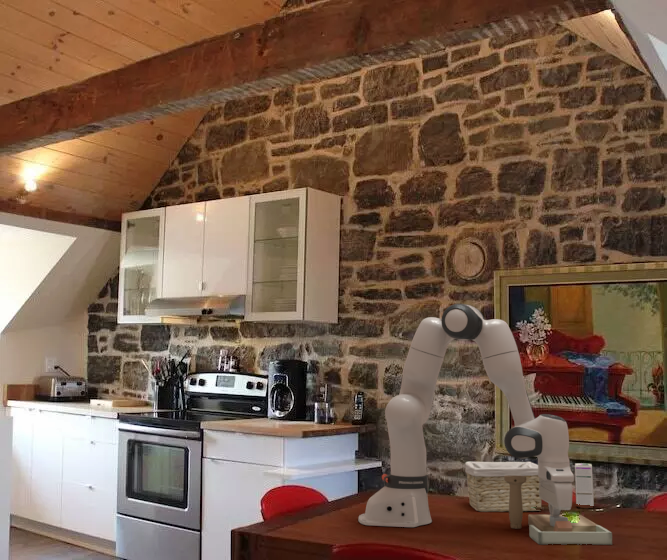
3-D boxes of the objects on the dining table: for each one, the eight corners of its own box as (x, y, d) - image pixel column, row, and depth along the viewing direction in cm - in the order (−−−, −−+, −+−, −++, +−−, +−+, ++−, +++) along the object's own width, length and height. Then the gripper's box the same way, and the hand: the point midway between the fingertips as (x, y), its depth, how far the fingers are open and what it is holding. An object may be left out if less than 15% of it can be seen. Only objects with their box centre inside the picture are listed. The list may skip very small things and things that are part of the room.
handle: (527, 530, 233) (526, 478, 235) (504, 529, 234) (504, 477, 236) (527, 527, 238) (526, 475, 239) (505, 525, 239) (504, 475, 241)
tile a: (553, 531, 223) (555, 538, 221) (555, 521, 221) (558, 528, 219) (567, 531, 223) (569, 538, 221) (569, 521, 221) (572, 528, 219)
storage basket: (473, 512, 260) (473, 467, 262) (464, 503, 276) (463, 460, 278) (546, 513, 261) (545, 467, 262) (532, 504, 277) (531, 461, 278)
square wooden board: (543, 536, 225) (543, 525, 226) (528, 524, 241) (528, 514, 242) (599, 536, 226) (599, 525, 226) (580, 524, 242) (580, 514, 242)
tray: (539, 544, 215) (538, 532, 216) (529, 536, 225) (529, 524, 225) (612, 544, 216) (611, 532, 216) (599, 536, 225) (599, 525, 226)
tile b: (554, 526, 222) (553, 517, 223) (549, 525, 226) (549, 516, 227) (568, 526, 222) (567, 517, 223) (563, 525, 226) (563, 516, 227)
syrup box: (594, 509, 267) (593, 465, 268) (575, 508, 269) (574, 464, 270) (593, 506, 272) (592, 463, 274) (575, 505, 274) (574, 462, 276)
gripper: (533, 466, 240) (534, 513, 238) (553, 476, 219) (554, 527, 218) (553, 466, 240) (554, 513, 238) (576, 476, 219) (577, 528, 218)
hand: (554, 520), depth 228 cm, fingers closed
